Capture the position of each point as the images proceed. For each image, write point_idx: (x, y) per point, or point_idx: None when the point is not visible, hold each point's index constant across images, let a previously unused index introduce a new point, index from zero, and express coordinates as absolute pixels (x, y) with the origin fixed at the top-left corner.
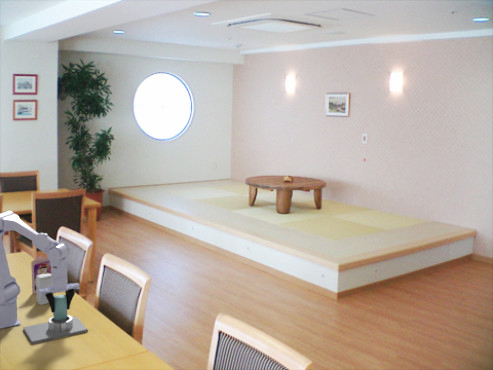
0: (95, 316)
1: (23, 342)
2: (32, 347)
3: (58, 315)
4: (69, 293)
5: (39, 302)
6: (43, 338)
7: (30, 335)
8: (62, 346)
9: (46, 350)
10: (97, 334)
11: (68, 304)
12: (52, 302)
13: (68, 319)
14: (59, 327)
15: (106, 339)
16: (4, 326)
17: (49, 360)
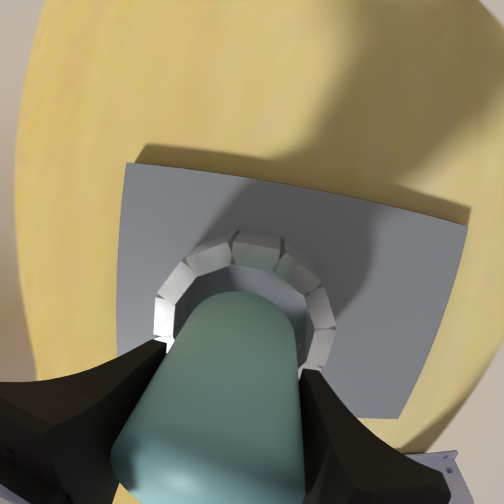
0: (44, 320)
1: (473, 276)
2: (472, 185)
3: (276, 322)
4: (38, 431)
5: None
6: (410, 219)
7: (435, 310)
8: (348, 70)
9: (434, 94)
10: (110, 94)
11: (138, 362)
12: (349, 438)
13: (179, 327)
14: (290, 249)
15: (113, 17)
16: (427, 457)
17: (446, 3)
